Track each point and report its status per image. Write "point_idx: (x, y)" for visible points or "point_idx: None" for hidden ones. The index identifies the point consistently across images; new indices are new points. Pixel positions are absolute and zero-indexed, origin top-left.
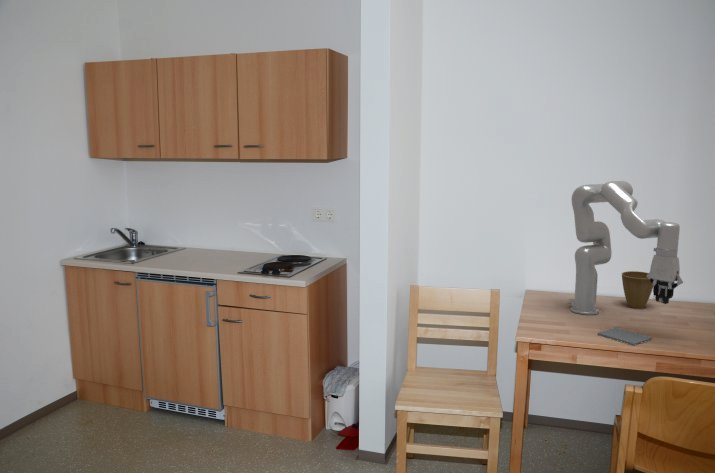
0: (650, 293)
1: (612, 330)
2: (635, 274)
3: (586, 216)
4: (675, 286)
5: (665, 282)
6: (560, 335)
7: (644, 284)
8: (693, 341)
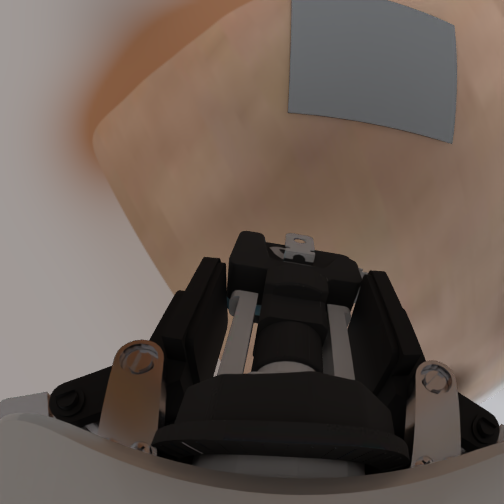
0: None
1: (443, 89)
2: None
3: None
4: (75, 381)
5: (188, 445)
6: None
7: None
8: (177, 226)
